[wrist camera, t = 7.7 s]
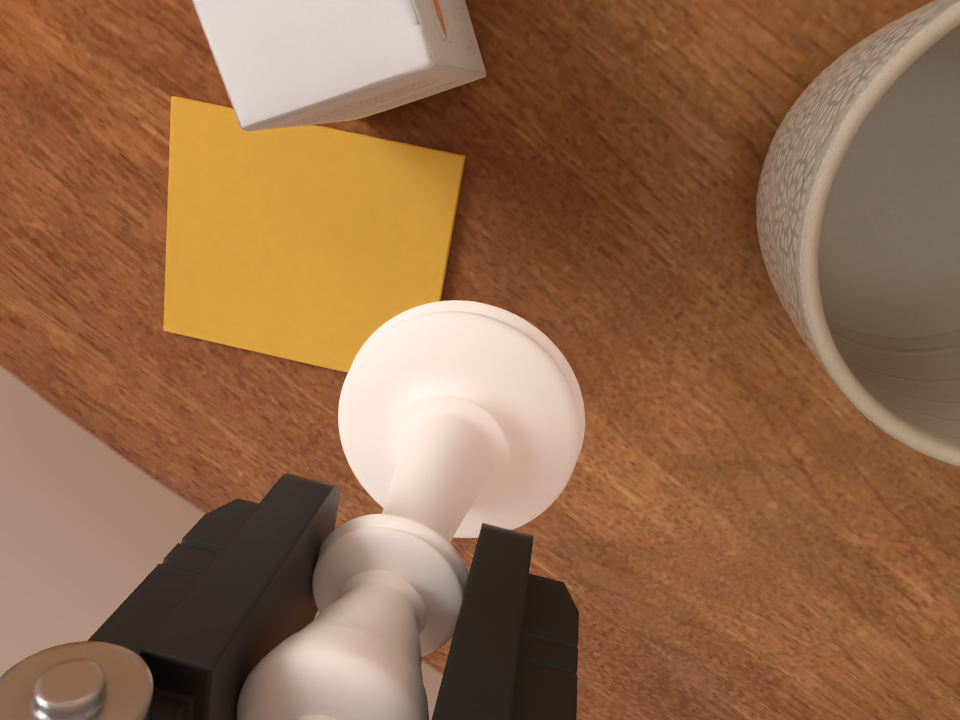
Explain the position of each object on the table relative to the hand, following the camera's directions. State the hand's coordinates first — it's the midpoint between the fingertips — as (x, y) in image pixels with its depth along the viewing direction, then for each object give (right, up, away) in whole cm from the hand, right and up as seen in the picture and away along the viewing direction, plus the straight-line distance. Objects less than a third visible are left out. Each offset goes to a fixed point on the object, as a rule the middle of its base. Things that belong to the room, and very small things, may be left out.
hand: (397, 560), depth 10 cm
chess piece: (+1, +2, +5) cm, 5 cm away
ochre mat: (-6, +7, +21) cm, 23 cm away
